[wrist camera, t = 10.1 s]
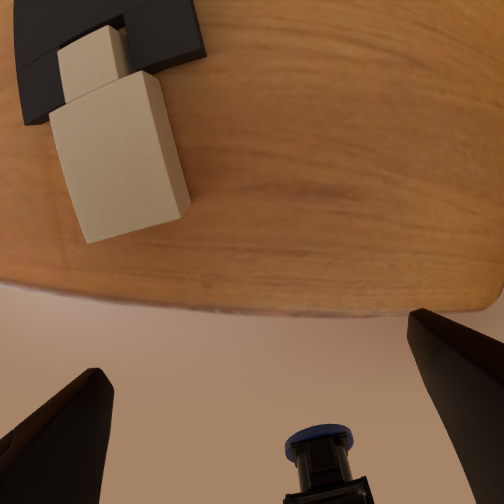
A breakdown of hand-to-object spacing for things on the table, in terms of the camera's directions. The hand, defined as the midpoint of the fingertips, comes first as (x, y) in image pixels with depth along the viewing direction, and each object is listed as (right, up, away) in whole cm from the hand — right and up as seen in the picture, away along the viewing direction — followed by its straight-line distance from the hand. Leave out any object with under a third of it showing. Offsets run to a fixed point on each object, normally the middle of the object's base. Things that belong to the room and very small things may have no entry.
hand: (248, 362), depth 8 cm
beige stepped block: (-8, +10, +9) cm, 15 cm away
